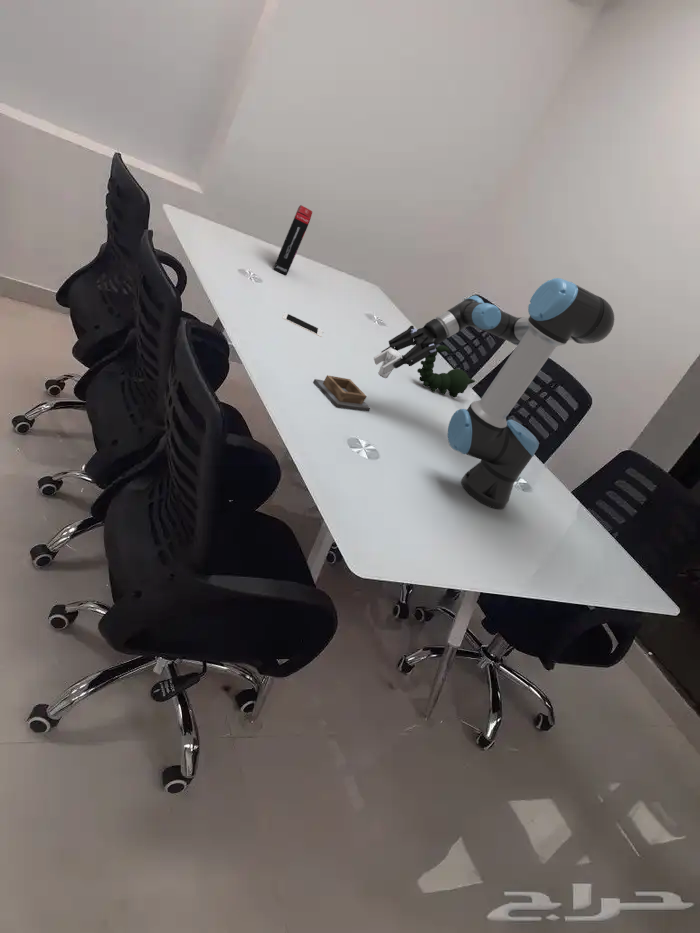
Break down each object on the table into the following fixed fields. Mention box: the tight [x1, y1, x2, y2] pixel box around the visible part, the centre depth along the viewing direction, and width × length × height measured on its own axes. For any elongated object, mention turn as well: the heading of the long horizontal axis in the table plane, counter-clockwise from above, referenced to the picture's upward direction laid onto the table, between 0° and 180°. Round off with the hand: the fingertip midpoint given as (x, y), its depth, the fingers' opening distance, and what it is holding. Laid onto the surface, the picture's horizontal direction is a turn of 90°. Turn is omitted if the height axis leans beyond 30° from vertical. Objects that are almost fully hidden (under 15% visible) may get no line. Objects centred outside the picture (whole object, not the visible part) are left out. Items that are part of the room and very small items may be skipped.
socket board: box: [313, 374, 371, 412], centre depth 226 cm, size 14×14×4 cm
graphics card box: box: [273, 204, 313, 276], centre depth 314 cm, size 17×7×27 cm, turn 1°
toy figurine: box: [417, 344, 476, 398], centre depth 275 cm, size 9×19×25 cm
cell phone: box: [282, 312, 324, 338], centre depth 269 cm, size 8×16×1 cm, turn 89°
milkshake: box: [377, 349, 405, 379], centre depth 224 cm, size 4×5×10 cm
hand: (379, 365), depth 223 cm, fingers closed on milkshake, 4 cm apart
